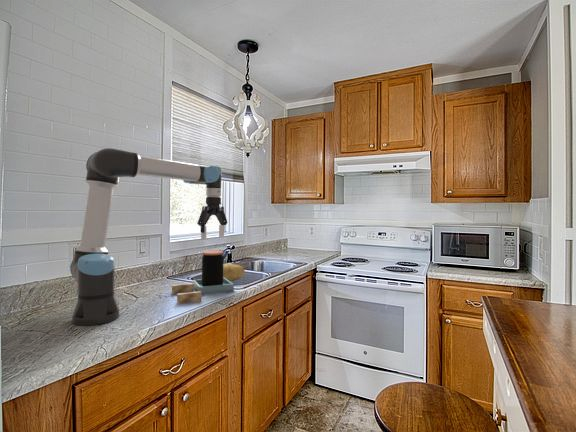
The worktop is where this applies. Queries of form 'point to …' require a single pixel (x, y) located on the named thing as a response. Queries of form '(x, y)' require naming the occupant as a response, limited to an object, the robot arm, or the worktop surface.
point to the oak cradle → (186, 293)
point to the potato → (232, 272)
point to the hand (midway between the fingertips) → (212, 238)
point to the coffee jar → (212, 268)
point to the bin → (213, 287)
